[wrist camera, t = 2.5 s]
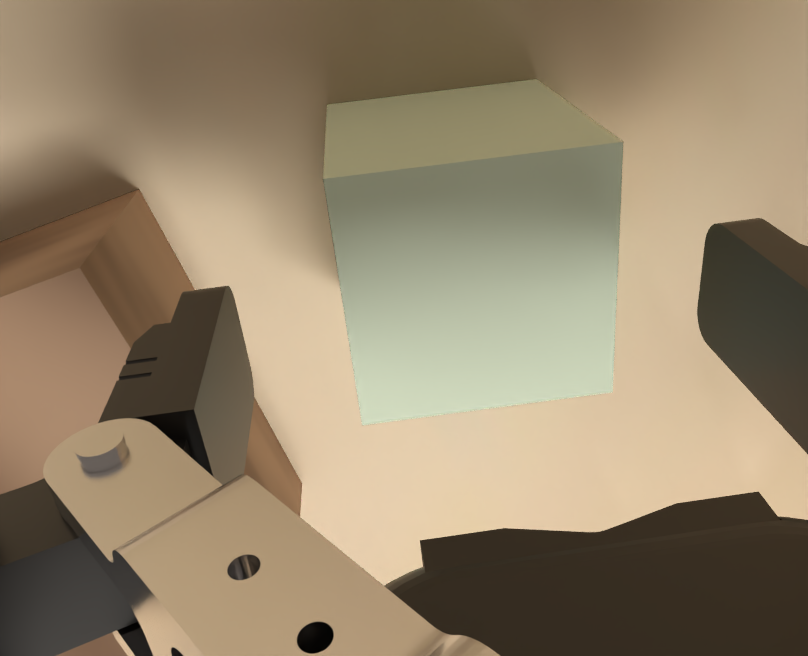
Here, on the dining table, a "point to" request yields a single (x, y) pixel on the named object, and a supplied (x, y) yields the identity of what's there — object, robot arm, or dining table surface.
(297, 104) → the dining table surface
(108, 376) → the walnut box
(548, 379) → the green block
